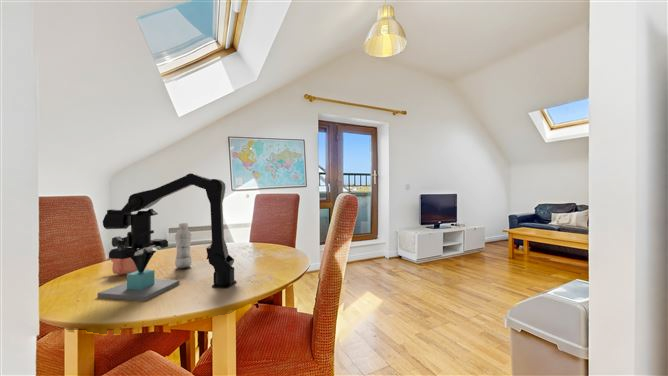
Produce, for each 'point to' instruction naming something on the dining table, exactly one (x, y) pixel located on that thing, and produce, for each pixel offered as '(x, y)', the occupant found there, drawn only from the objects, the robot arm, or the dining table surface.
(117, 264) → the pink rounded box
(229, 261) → the robot arm
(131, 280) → the turquoise cube
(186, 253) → the plastic bottle
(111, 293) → the base plate
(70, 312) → the dining table surface
